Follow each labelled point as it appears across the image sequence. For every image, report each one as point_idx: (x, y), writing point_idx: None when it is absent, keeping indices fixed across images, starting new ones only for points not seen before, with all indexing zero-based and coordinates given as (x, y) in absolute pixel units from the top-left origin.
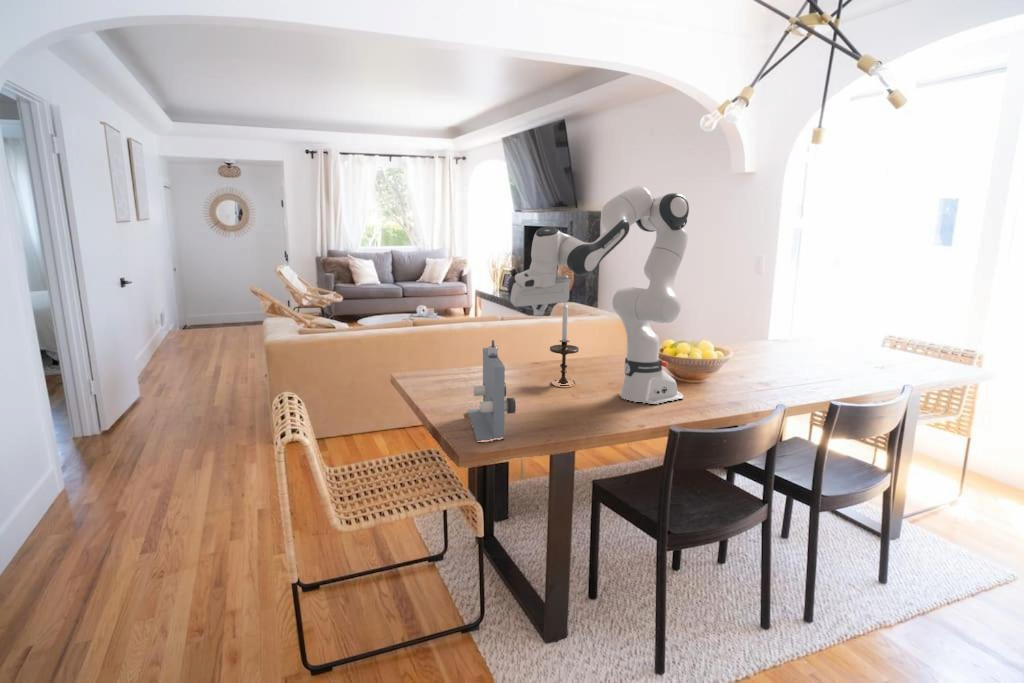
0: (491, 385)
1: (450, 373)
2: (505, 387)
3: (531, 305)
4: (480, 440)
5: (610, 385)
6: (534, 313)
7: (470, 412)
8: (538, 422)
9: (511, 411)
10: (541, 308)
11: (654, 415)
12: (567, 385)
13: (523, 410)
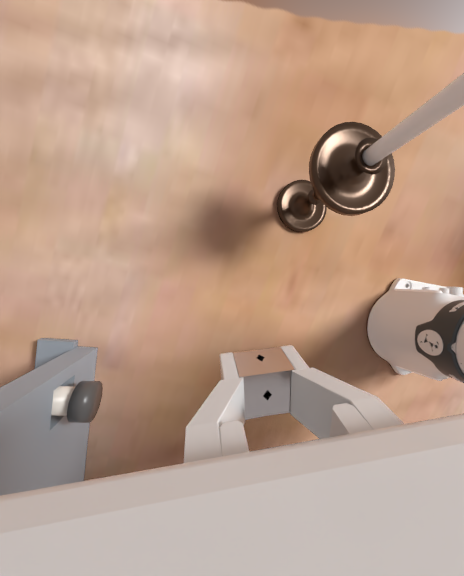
0: None
1: (63, 21)
2: (87, 422)
3: (186, 435)
4: None
5: (383, 242)
6: (221, 378)
7: (40, 360)
8: (173, 418)
9: None
10: (303, 394)
11: None
12: (302, 230)
13: (166, 347)
